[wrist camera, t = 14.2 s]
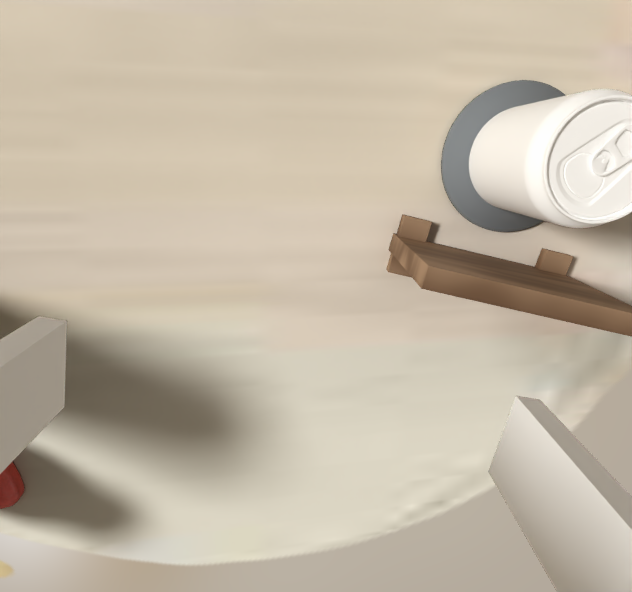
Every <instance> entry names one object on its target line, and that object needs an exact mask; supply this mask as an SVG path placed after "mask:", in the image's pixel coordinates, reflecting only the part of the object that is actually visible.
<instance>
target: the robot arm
mask: <svg viewBox="0 0 632 592" xmlns="http://www.w3.org/2000/svg"><path fill="white" fill-rule="evenodd" d="M66 339H67V321H65V320H59V319H53V318H47V317H41V316H38V317H36V318H35V319H33V320H31V321H30V322H28V323H26V324H25V325H23V326H22V327H20V328H18V329H17V330H15V331H13V332H12V333H10V334H8V335H7V336H5V337H3V338H2V339H0V474H1V473H2V472H3V471H4V470H5V469H6V468H7V466H8V465H9V464H10V463H11V462H12V461H13V460H14V459H15V458H16V457H17V456H18V455H19V454H20V453H21V452H22V451H23V450H24V449H25V448H26V447H27V446H28V445H29V443H30V442H31V441H32V440H33V439H34V438H35V437H36V436H37V435H38V434H39V433H40V432H41V431H42V430H43V429H44V428H45V427H46V426H47V425H48V424H49V423H50V422H51V420H52V419H53V418H54V417H55V416H56V415H57V414H58V413H59V412H60V411H61V410H62V409H63V408H64V406H65V373H66ZM488 472H489V474H490V476H491V477H492V479H493V481H494V483H495V484H496V486H497V488H498V489H499V491H500V493H501V495H502V497H503V498H504V500H505V502H506V504H507V505H508V507H509V509H510V511H511V512H512V514H513V516H514V518H515V519H516V521H517V523H518V525H519V526H520V528H521V530H522V532H523V533H524V535H525V537H526V539H527V540H528V542H529V544H530V546H531V547H532V549H533V551H534V553H535V554H536V556H537V558H538V560H539V561H540V563H541V565H542V567H543V568H544V570H545V572H546V574H547V575H548V577H549V579H550V581H551V582H552V584H553V586H554V588H555V590H556V591H557V592H632V496H631V495H630V494H629V493H628V492H627V491H626V490H625V489H624V488H623V487H622V486H621V485H620V483H619V482H618V481H617V480H616V479H615V478H614V477H613V476H612V475H611V474H610V473H609V472H608V471H607V470H606V469H605V468H604V467H603V466H602V465H601V463H600V462H599V461H598V460H597V459H596V458H595V457H594V456H593V455H592V454H591V453H590V452H589V451H588V450H587V449H586V448H585V447H584V445H582V443H581V442H580V441H579V440H578V439H577V438H576V437H575V436H574V435H573V434H572V433H571V432H570V431H569V430H568V429H567V428H566V426H565V425H564V424H563V423H562V422H561V421H560V420H559V419H558V418H557V417H556V416H555V415H554V414H553V413H552V412H551V411H550V410H549V409H548V407H547V406H546V405H545V404H544V403H543V402H542V401H541V400H539V399H533V398H527V397H521V396H516V397H515V400H514V403H513V405H512V408H511V411H510V413H509V416H508V419H507V422H506V424H505V427H504V430H503V433H502V435H501V438H500V441H499V443H498V446H497V449H496V452H495V454H494V457H493V460H492V463H491V465H490V468H489V471H488Z"/></svg>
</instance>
